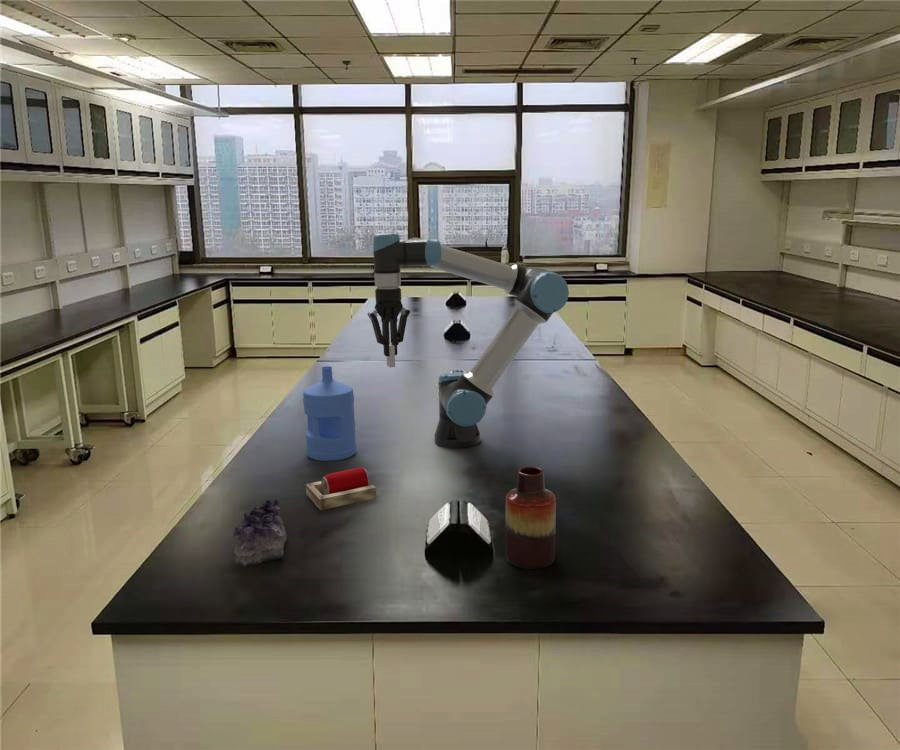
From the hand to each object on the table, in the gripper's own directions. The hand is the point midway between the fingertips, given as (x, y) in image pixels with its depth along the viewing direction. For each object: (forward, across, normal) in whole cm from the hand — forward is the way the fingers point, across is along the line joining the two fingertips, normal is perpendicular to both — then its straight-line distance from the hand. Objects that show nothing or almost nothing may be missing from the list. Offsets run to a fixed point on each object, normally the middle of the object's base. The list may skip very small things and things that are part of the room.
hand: (391, 366), depth 211 cm
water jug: (+30, +15, -15) cm, 37 cm away
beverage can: (+26, +16, +18) cm, 36 cm away
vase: (+30, 0, +73) cm, 79 cm away
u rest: (+29, +24, +19) cm, 42 cm away
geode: (+30, +50, +38) cm, 69 cm away
